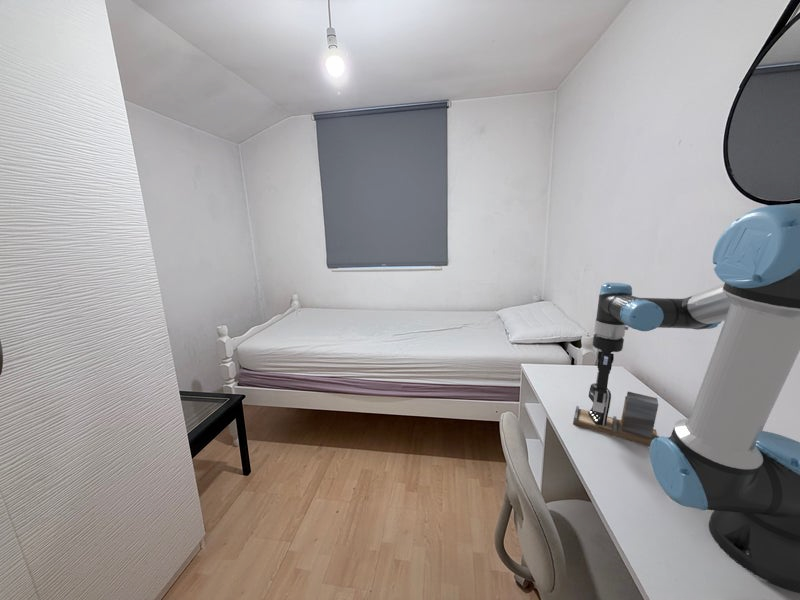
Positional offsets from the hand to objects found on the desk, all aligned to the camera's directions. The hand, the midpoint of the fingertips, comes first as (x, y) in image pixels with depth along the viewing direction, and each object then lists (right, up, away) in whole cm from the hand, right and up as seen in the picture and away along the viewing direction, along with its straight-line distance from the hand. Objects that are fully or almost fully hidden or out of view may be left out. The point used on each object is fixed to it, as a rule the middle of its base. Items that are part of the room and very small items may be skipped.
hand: (598, 401), depth 99 cm
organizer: (+4, -8, 0) cm, 9 cm away
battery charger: (0, -7, +2) cm, 7 cm away
